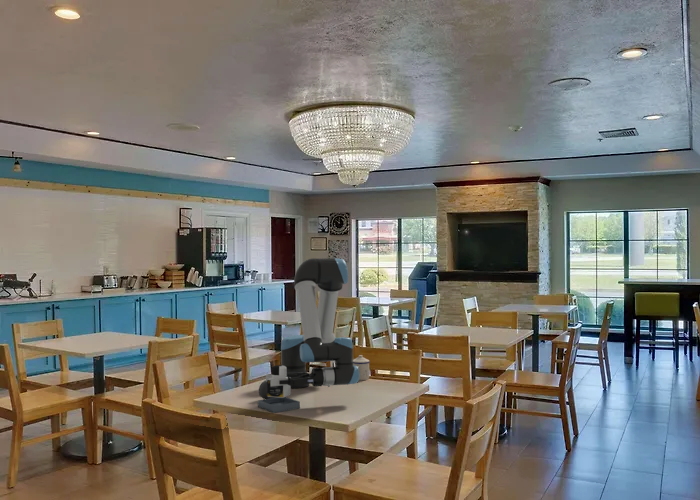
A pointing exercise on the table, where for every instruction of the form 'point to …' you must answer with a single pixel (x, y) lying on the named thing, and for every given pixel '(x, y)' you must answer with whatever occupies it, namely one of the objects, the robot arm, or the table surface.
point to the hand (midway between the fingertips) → (268, 380)
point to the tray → (278, 404)
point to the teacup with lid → (362, 367)
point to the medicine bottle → (278, 391)
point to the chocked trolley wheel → (264, 390)
